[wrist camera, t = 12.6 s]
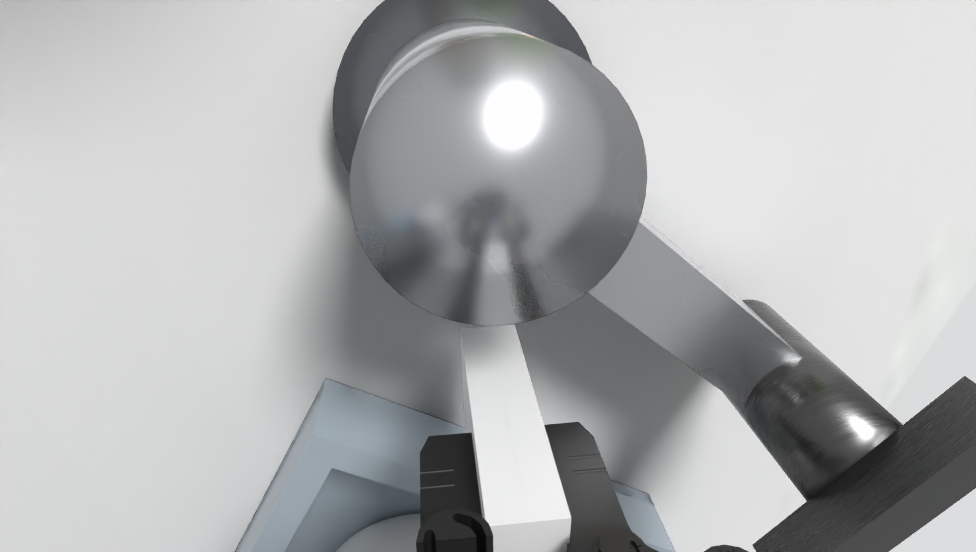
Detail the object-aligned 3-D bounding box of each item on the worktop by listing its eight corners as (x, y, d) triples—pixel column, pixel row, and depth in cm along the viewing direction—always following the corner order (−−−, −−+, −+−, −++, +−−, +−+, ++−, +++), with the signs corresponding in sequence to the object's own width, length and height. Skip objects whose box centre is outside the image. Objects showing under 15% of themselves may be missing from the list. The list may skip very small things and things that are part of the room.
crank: (322, 156, 15) (250, 289, 8) (466, -50, 13) (520, -87, 7) (693, 412, 20) (830, 619, 14) (829, 289, 19) (1059, 455, 12)
